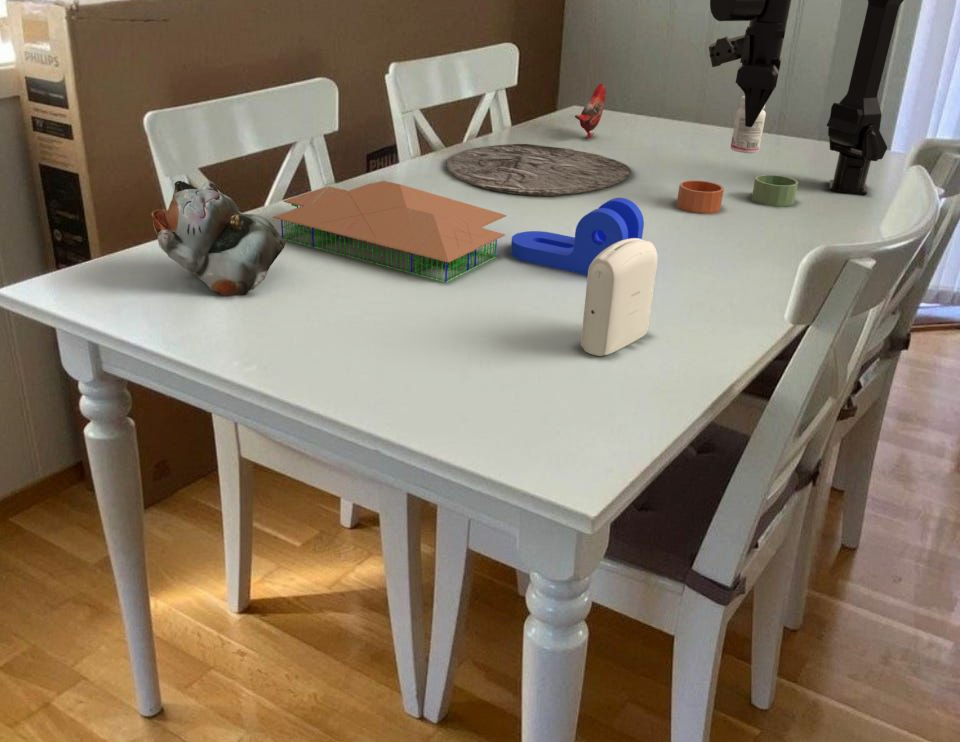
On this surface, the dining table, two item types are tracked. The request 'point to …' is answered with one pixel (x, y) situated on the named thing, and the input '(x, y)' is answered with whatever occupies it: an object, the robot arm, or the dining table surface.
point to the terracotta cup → (700, 196)
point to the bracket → (581, 238)
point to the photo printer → (619, 296)
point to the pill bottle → (747, 131)
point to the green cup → (774, 190)
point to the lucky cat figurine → (217, 239)
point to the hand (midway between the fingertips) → (749, 123)
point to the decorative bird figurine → (593, 110)
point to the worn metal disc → (536, 169)
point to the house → (396, 223)
